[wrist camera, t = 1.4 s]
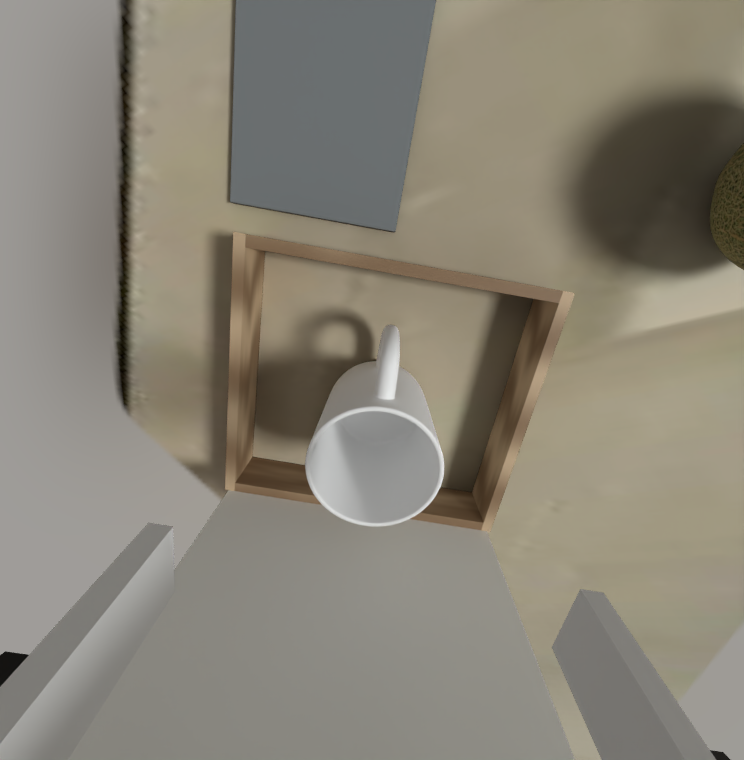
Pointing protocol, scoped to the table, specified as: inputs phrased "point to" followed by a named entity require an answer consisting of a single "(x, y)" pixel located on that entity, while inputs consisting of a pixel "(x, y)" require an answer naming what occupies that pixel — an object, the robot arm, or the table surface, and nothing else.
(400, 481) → the cup
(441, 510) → the frame
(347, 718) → the lid
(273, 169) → the mat
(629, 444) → the table surface
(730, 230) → the fruit
